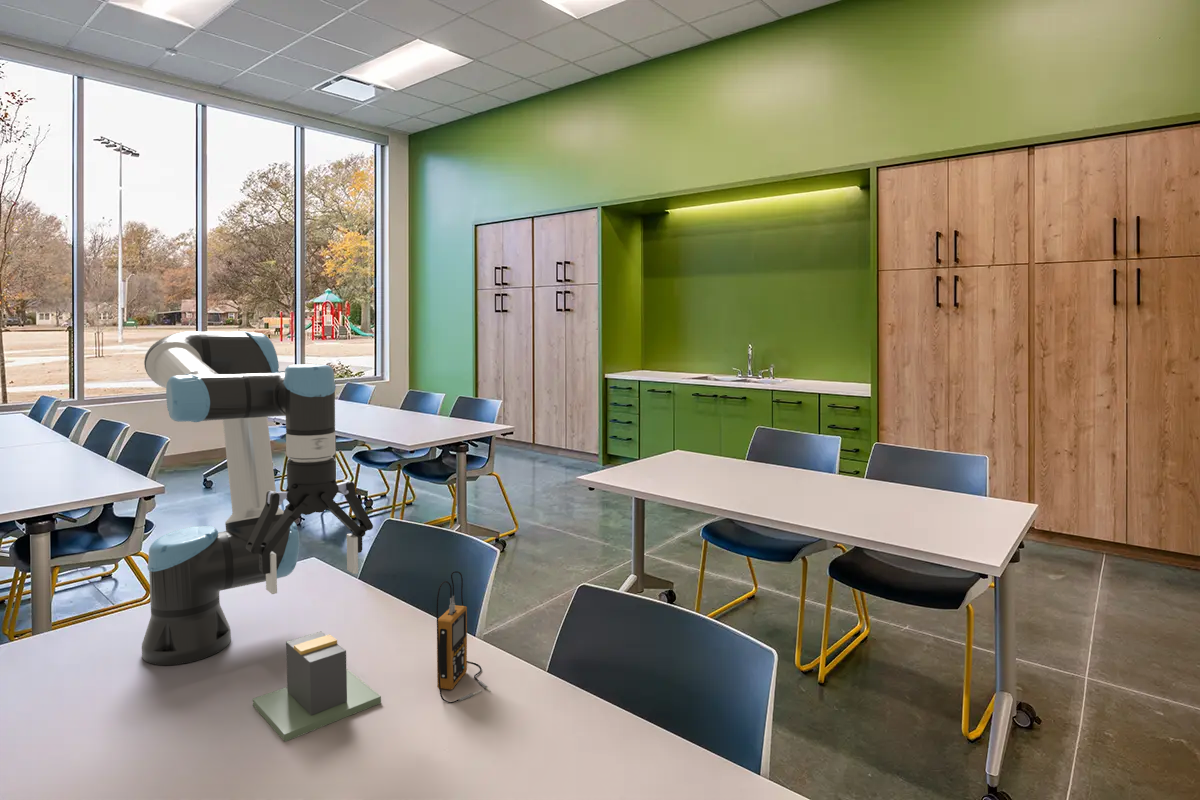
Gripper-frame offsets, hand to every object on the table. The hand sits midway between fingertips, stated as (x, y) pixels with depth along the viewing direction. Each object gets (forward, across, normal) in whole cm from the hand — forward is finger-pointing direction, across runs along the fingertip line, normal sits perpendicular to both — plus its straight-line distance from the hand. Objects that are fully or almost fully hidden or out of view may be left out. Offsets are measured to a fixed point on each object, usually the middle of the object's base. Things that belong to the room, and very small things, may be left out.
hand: (313, 581), depth 114 cm
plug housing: (+20, 0, -2) cm, 20 cm away
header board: (+21, 0, -2) cm, 21 cm away
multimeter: (+21, +23, -14) cm, 34 cm away
